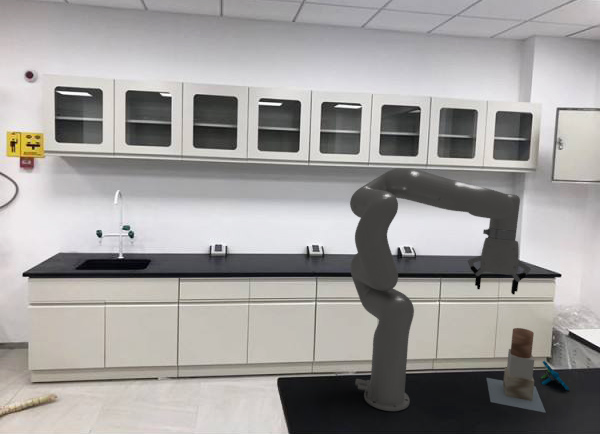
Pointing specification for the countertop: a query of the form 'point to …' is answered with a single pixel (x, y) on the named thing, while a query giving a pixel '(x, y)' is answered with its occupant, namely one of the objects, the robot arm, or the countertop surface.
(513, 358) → the upper block
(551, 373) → the blue angular piece
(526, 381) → the lower block
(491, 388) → the mat
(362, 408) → the countertop surface
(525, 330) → the cylinder
